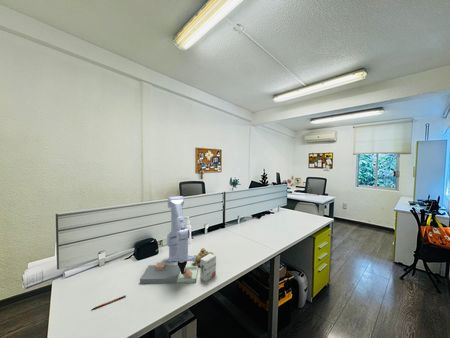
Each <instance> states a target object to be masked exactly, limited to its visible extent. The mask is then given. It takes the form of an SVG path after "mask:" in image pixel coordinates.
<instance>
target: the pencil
mask: <svg viewBox="0 0 450 338" xmlns="http://www.w3.org/2000/svg"><path fill="white" fill-rule="evenodd" d="M126 297H127V296H126V294H125V295H123V296H119V297H117V298H115V299H113V300H109V301H108V302H104V303H102V304H99V305H97V306H95V307H93V308H92V309H91V311H94V310H97V309H100V308H103V307H104V306H107V305H109V304H112V303H114V302H117V301H121V300H123V299H125V298H126Z"/></svg>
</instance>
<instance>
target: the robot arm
mask: <svg viewBox="0 0 450 338" xmlns="http://www.w3.org/2000/svg"><path fill="white" fill-rule="evenodd" d="M184 203H185V198H184V196H183V195H179V196H177V195H176V196H168V197H167V208H168V209H170V216H171V217H170V219H171V220H170V222H171V225H170V226H171V229H170V230H171V231H170V232H169V233H168V234H167V235H166V246H167V247H168V258H167V260H166V261H167V262H170V263H171V262H177V264H176V265H178V266H179V268H180V271H181V274H184V269H185V266H187V264H188V262H193V261H194V262H193V263H196V262H195V260H196V256H197V255H196V256H194V255H189V239H190V228H189V227H188V225H187V222H186V218H185V217H184V216H183V208H182V207H184Z"/></svg>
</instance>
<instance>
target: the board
mask: <svg viewBox="0 0 450 338" xmlns="http://www.w3.org/2000/svg"><path fill="white" fill-rule="evenodd" d="M156 265H157V264H155V265H154V264H149V265H148V266H147V267H146V269H145V270H144V271H143V272H144V273H143V274H142V275H141V276H140V279H139V284H141V285H142V284H144V285H145V284H178V283H177V279H178V277H179V274H180V268H179V266H178V264H165V267H164V269H163V270H155V267H156Z"/></svg>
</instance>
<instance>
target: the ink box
mask: <svg viewBox="0 0 450 338" xmlns="http://www.w3.org/2000/svg"><path fill="white" fill-rule="evenodd" d="M216 258H217V255H215V254H214V253H213V254H211V253H210V254H208V255H206V256H205V257H203V258H201V259H200V266H199V267H200V269H199V270H200V271H199V273H200V274H199V275H200V277H199V278H200V279H201V280H202V281H204V282H208V281H209V280H210V279H211V278H213V277H214V276H216V275H217V273H216V271H217V266H216V265H217V259H216Z"/></svg>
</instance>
